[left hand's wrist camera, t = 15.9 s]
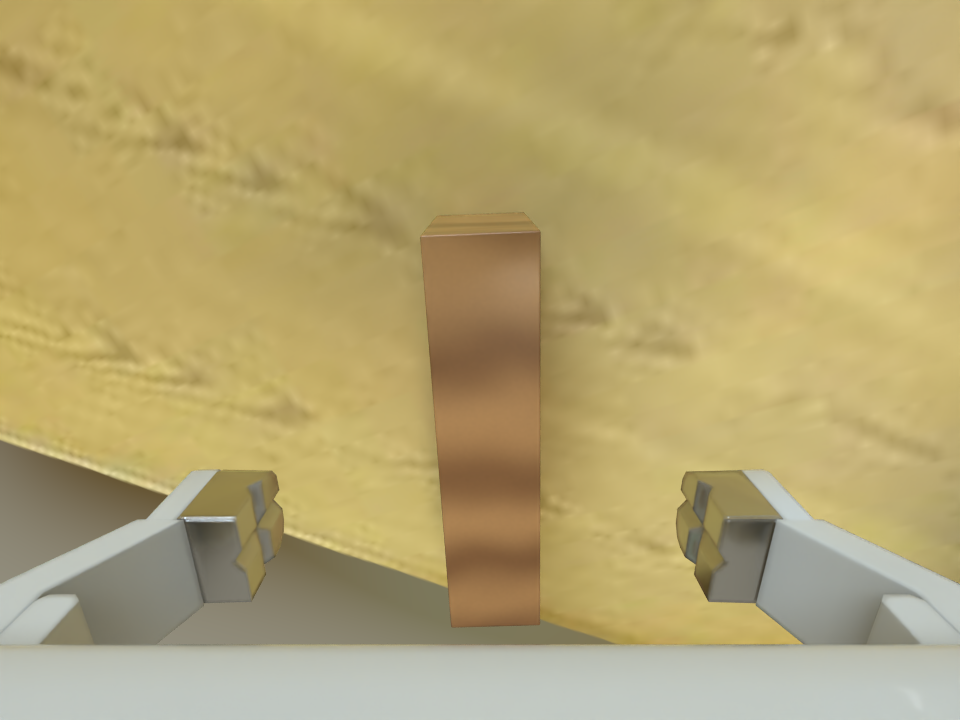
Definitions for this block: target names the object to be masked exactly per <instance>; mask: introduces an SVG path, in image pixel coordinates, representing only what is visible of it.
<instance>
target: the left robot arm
mask: <svg viewBox="0 0 960 720" xmlns="http://www.w3.org/2000/svg"><path fill="white" fill-rule="evenodd" d="M278 491H279V486H278V481H277V476H276V474H275V473H274V472H273V471H258V470H195V471H192V472H191V473H190V474H189V475H188V476H187V477H186V478H185V479H184V480H183V481H182V482H181V483H180V484H179V485H178V486H177V487H176V488H175V489H174V490H173V492H172V493H171V494H170V495H169V496H168V497H167V498H166V499H165V500H164V501H163V502H162V503H161V504H160V505H159V506H158V507H157V508H156V509H155V510H154V512H153V513H152V514H151V515H150V516H149V517H148V518H147V519H146V520H136V521H133V522H131V523H129V524H127V525H125V526H123V527H121V528H119V529H116V530H114V531H112V532H110V533H108V534H106V535H104V536H101V537H99V538H97V539H95V540H93V541H91V542H89V543H86V544H84V545H82V546H80V547H78V548H76V549H74V550H72V551H69V552H67V553H65V554H63V555H61V556H59V557H57V558H54V559H52V560H50V561H48V562H46V563H44V564H42V565H39V566H37V567H35V568H33V569H31V570H29V571H27V572H25V573H22V574H20V575H18V576H16V577H14V578H12V579H10V580H7V581H5V582H3V583H1V584H0V720H960V584H959V583H956V582H954V581H952V580H950V579H948V578H946V577H944V576H942V575H939V574H937V573H935V572H933V571H931V570H929V569H927V568H924V567H922V566H920V565H918V564H916V563H914V562H912V561H910V560H907V559H905V558H903V557H901V556H899V555H897V554H895V553H893V552H890V551H888V550H886V549H884V548H882V547H880V546H878V545H876V544H873V543H871V542H869V541H867V540H865V539H863V538H861V537H859V536H856V535H854V534H852V533H850V532H848V531H846V530H844V529H842V528H839V527H837V526H835V525H833V524H831V523H829V522H827V521H824V520H814V519H813V518H812V517H811V516H810V515H809V514H808V513H807V511H806V510H805V509H804V508H803V507H802V506H801V505H800V504H799V503H798V502H797V501H796V500H795V499H794V498H793V497H792V496H791V495H790V494H789V492H788V491H787V490H786V489H785V488H784V487H783V486H782V485H781V484H780V483H779V482H778V481H777V480H776V479H775V478H774V477H773V476H772V475H771V474H770V472H768V471H765V470H763V469H756V470H734V471H692V472H686V473H685V475H684V477H683V480H682V485H681V491H682V493H683V494H684V496H685V498H686V499H687V500H686V501H685V502H684V503H683V504H682V505H681V506H680V507H679V508H678V510H677V518H676V530H677V538H678V542H679V545H680V548H681V550H682V552H683V554H684V556H685V557H686V558H687V559H689V560H690V561H692V562H693V563H694V564H696V566H695V572H694V575H695V577H696V579H697V581H698V583H699V585H700V586H701V588H702V590H703V592H704V594H705V596H706V598H707V600H708V601H709V602H735V603H756V606H757V607H759V608H760V609H761V610H762V611H763V612H765V613H766V614H767V615H768V616H770V617H771V618H772V619H773V620H775V621H776V622H777V623H778V624H779V625H781V626H782V627H783V628H784V629H786V630H787V631H788V632H789V633H791V634H792V635H793V636H794V637H796V638H797V639H798V640H799V641H800V642H802V643H803V644H804V645H156V644H157V643H158V642H160V641H161V640H162V639H163V638H165V637H166V636H167V635H168V634H170V633H171V632H172V631H173V630H175V629H176V628H177V627H178V626H179V625H181V624H182V623H183V622H184V621H186V620H187V619H188V618H189V617H191V616H192V615H193V614H194V613H196V612H197V611H198V610H199V609H200V608H202V607H203V606H204V603H225V602H251V601H252V600H253V598H254V596H255V594H256V592H257V590H258V588H259V586H260V585H261V583H262V581H263V579H264V577H265V575H266V572H265V567H264V564H265V563H267V562H268V561H270V560H271V559H273V558H274V557H275V556H276V554H277V552H278V550H279V548H280V545H281V541H282V536H283V532H284V517H283V510H282V508H281V507H280V506H279V505H278V504H277V503H276V502H275V501H274V500H273V499H274V498H275V496H276V494H277V493H278Z"/></svg>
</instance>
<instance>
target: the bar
mask: <svg viewBox="0 0 960 720" xmlns="http://www.w3.org/2000/svg"><path fill="white" fill-rule="evenodd" d="M420 240H421V252H422V265H423V277H424V290H425V302H426V315H427V328H428V340H429V353H430V365H431V378H432V391H433V403H434V416H435V428H436V441H437V453H438V466H439V479H440V491H441V504H442V516H443V529H444V542H445V554H446V567H447V579H448V592H449V604H450V617H451V627H487V626H521V625H539V624H540V276H541V232H540V230H539V229H538V228H537V227H536V226H535V225H534V223H533V222H532V221H531V220H530V219H529V218H528V217H527V215H526V214H525V213H499V214H475V215H450V216H437V217H436V218H435V219H434V220H433V222H432V223H431V224H430V225H429V226H428V228H427V229H426V230H425V231H424V232H423V234H422V235H421V237H420Z"/></svg>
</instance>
